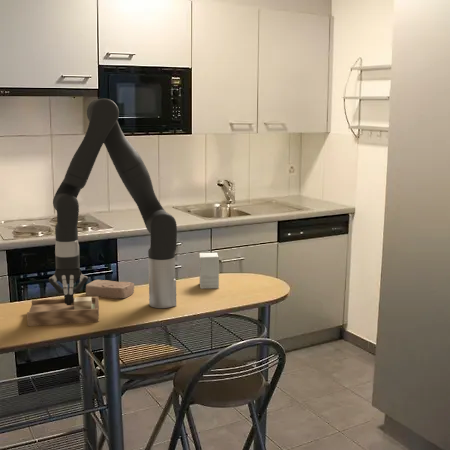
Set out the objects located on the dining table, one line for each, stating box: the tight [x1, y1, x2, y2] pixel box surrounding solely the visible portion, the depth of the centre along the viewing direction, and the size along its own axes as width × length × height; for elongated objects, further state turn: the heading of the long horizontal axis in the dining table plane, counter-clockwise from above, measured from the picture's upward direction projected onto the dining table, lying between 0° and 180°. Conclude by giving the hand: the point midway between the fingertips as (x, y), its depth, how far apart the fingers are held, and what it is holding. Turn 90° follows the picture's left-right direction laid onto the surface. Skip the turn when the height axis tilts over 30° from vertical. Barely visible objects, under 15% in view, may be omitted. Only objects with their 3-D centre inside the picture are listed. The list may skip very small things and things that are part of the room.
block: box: [73, 296, 93, 310], centre depth 203 cm, size 6×4×3 cm
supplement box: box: [198, 252, 220, 290], centre depth 238 cm, size 7×7×13 cm
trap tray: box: [26, 296, 100, 327], centre depth 202 cm, size 22×14×4 cm, turn 101°
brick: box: [85, 279, 135, 299], centre depth 228 cm, size 17×8×5 cm, turn 71°
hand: (69, 304), depth 202 cm, fingers closed
